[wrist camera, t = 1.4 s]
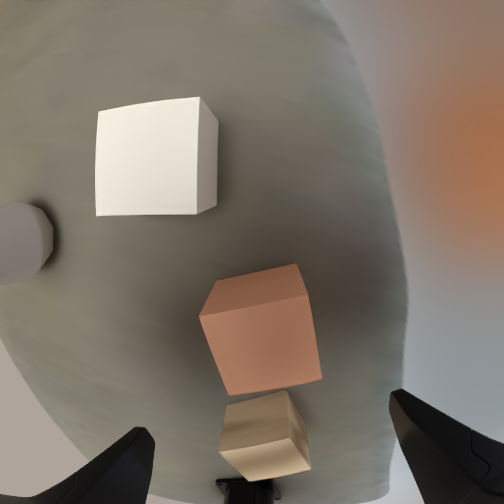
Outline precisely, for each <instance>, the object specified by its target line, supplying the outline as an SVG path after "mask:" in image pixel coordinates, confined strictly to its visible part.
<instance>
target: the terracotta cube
mask: <svg viewBox="0 0 504 504" xmlns="http://www.w3.org/2000/svg"><path fill="white" fill-rule="evenodd" d="M199 319H200V322H201V324H202V327H203V330H204V333H205V335H206V338H207V341H208V344H209V346H210V349H211V352H212V354H213V357H214V360H215V362H216V365H217V367H218V370H219V372H220V375H221V377H222V380H223V382H224V385H225V387H226V390H227V392H228V395H236V394H244V393H252V392H259V391H265V390H271V389H277V388H283V387H288V386H294V385H299V384H303V383H308V382H313V381H317V380H322V374H321V368H320V361H319V355H318V348H317V342H316V336H315V330H314V324H313V319H312V313H311V307H310V302H309V296H308V293H307V290H306V287H305V285H304V282H303V279H302V277H301V274H300V272H299V269H298V266H297V264H296V263H294V264H290V265H285V266H281V267H277V268H272V269H268V270H263V271H259V272H254V273H249V274H245V275H240V276H236V277H231V278H226V279H222V280H217V281H216V282H215V284H214V286H213V288H212V290H211V292H210V294H209V296H208V298H207V300H206V302H205V304H204V306H203V309H202V311H201V313H200V315H199Z"/></svg>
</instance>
